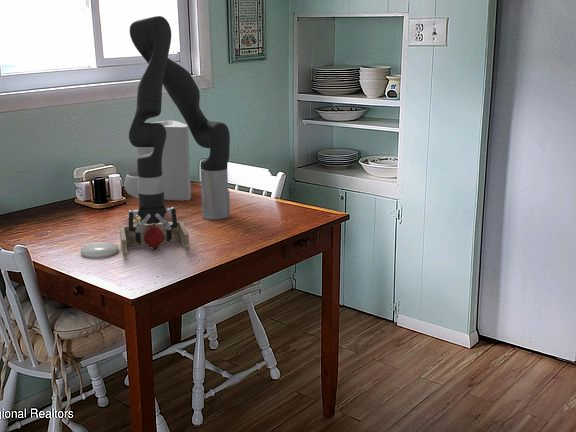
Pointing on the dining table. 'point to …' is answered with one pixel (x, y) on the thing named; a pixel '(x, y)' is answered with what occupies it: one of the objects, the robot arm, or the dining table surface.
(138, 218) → the ammunition
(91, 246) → the white flat disc
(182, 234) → the wooden plank arch
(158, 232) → the onion
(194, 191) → the dining table surface
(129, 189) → the chalice
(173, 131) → the tall white box
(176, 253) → the dining table surface
